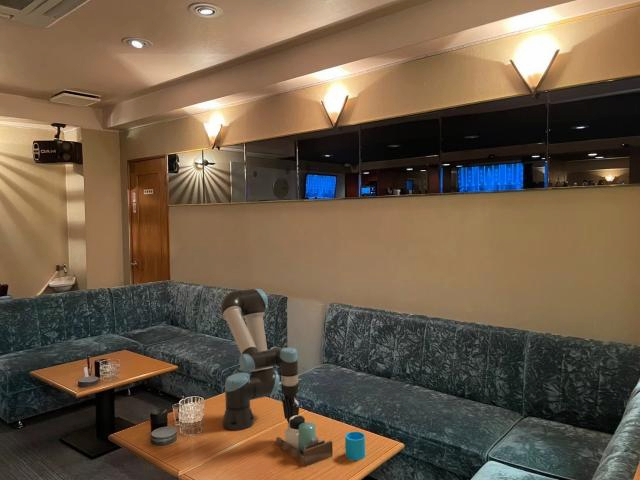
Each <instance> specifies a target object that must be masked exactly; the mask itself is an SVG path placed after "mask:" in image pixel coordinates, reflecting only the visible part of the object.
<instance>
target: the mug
mask: <svg viewBox="0 0 640 480" xmlns="http://www.w3.org/2000/svg"><path fill="white" fill-rule="evenodd" d="M344 437H345V439H344V440H345V443H344V445H345V457H346V459H348V460H350V461H360V460H364V459H365V457H366V435H365V434H364V432H360V431H350V432H347V433H346V434H345V436H344Z"/></svg>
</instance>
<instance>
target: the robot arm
mask: <svg viewBox="0 0 640 480" xmlns="http://www.w3.org/2000/svg"><path fill="white" fill-rule="evenodd" d="M220 304H221V305H220V312H221V313H220V314H221V315H222V319H223V320H224V321H226V322H227V325H228V327H229V329H230V331H231V334H232V336H233V339H234V341H235V343H236V346H237V348H238V350H239V352H240V354H241V355H240V356H239V360H238V363H239V368H240V370H241V371H243V372H235V373H234V374H232V375H230V376H228V377H227V378H226V380H225V383H224V384H225V385H224V391H225V392H224V393H225V410H224V413H223V414H224V415H223V417H222V427H223V428H224V429H226V430H230V431H241V430H245V429H248V428H251V427H252V426H253V425H254V424H255V417H254V413H253V411H252V408H251V401H252V400H257V399H261V398H266V397H270V396H273V395H275V394H277V393H278V391H279V387H280V381H281V387H280V388H281V394H283V395H281V396H280V399H281V402H282V408H283V414H284V419H285V420H286V421H287V429H289V428H290V422H289V419H290V418H291V417H292V416H296V415H300V414H299V413H300V412H299V411H300V407H301V402H298V397H297V394H298V393H299V370H298V369H299V368H298V367H299V365H298V363H299V360H298V359H299V356H298V351H297V349H296V348H294V347H292V346H291V347H288V346H287V347H283V348H282V347H279V346H273V347H271V348H269V349H268V344H267V337H266V331H265V325H264V323H265V322H264V316H265V314H266V311H267V310H268V307H269V306H268V304H269V301H268V297H267V294H266V293H265V291H263V289H260V288H250V289H249V288H248V289H243V290H233V291H230V292H229V293H227V294H226V295H225V296H224V297H223V299H222V302H221V303H220ZM244 319H245V320H244ZM274 367H279V368H280V375H279V373H278V371H277V370H274ZM248 372H249V373H248Z"/></svg>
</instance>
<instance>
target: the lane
mask: <svg viewBox="0 0 640 480" xmlns="http://www.w3.org/2000/svg"><path fill="white" fill-rule="evenodd" d="M275 440H276V445H277V446H278V447H280V448H281V449H282V450H283V451H284V452H286V453H287V454H288V455H290V456H291V457H292V458H294V459H295V460H296V461H297V462H299V463H300V464H301V465H303V466H304V467H308V466H310V465H313V464H315V463H318V462H320V461H323V460H327V459H329V458H331V457H333V448H334V447H333V441H332V440H329V441H325V443H323V444H320V445H317V446H314V447H311V448H308V449H306V450H303V454H302V453H300V452H299V451H297V450H296V449H295V448H293V447H292V446H291V445H289V444H288V443H287V442H285V440H284V439H283V438H281V437H280V436H277V437H276V438H275ZM318 441H320V440H319V439H318Z"/></svg>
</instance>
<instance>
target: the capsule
mask: <svg viewBox="0 0 640 480" xmlns="http://www.w3.org/2000/svg"><path fill="white" fill-rule="evenodd" d="M316 427H317V426H316V424H315V423H313V422H310V421H308V422H307V421H305V423H301V424H300V425H299V452H300V453H302V454H303V450H304V446H305V445H308V444H311V439H312V438H315V437H317V435H316V432H317V429H316Z"/></svg>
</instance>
